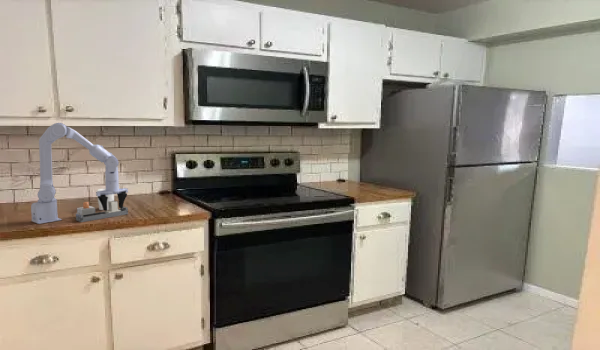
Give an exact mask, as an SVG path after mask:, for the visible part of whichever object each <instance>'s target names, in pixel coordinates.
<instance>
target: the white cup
mask: <svg viewBox="0 0 600 350" xmlns="http://www.w3.org/2000/svg"><path fill="white" fill-rule="evenodd" d="M104 190H106V188H98V189H97V190H96V192H98V191H104ZM105 196H106V197H108V199H107V211H108V202H109V201H115V194H110V195H105ZM97 204H98V209H99V210H100V211H104V210H103V207H102V204H101V202H100V200H99V199H98V198H97Z"/></svg>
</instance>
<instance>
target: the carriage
mask: <svg viewBox="0 0 600 350" xmlns="http://www.w3.org/2000/svg"><path fill="white" fill-rule="evenodd" d="M119 209H120V208H119V201H117V200H114V201H109V202H108V210H107V211H105V213H111V212H117V211H121V210H119Z"/></svg>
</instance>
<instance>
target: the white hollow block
mask: <svg viewBox="0 0 600 350" xmlns="http://www.w3.org/2000/svg"><path fill="white" fill-rule="evenodd" d="M76 211H77V212H76V213H79V214H82V215H86V214H92V213H96V207H94V206H92V205H89V208H86V209H83V206H80V207H77V208H76Z"/></svg>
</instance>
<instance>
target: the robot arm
mask: <svg viewBox="0 0 600 350" xmlns="http://www.w3.org/2000/svg"><path fill="white" fill-rule="evenodd" d="M65 136H66V137H65ZM63 137H65V138H66V139H70V140H71V139H73V140H74V141H75V142H77V143H79V145H81V146H82V147H84V148H86V149H87V150H88V151H89V155H90V156H92V157H94V159H96V160H97V161H99V162H101V163H104V165H105V172H104V176H105V177H104V180H105V189H106V190H104V191H98V192H97V191H96V192H95V195H96V197H97V200H98V199H99V200H100V202H101V204H102V207H103V210H102V211H103V212H104V211H108V210H107V199H108V197H106V196H105V195H110V194H114V195H117V199H118V201H117V202H118V209H120V208H123V206H124V203H125V200H126V198H127V196H128V193H129V188H126V187H124V188H120V185H119V184H120V183H119V182H120V181H119V179H120V178H119V177H120V176H119V163H120V161H119V159H118V158H117V157H116V156H115V155H114V154H113V153H112V152H109V151H108V150H107V149H106V148H104V146H103V145H102V144H94V143H92V142H91V141H89V139H87V138H86V137H84V136H83V135H82V134H80V133H79V132H78V131H76V130H75V129H73V128H71V127H70V126H67V125H66V124H64V123H62V122H55V123H53V124H51V125H49V126H48V127H47V128H46V130H45V131H44V133H43V134H42V135H41V136H40V137H39V140H38V148H39V149H38V150H39V153H38V154H39V179H40V180H39V190H38V191H37V198H38V199H37V202H33V203H31V205H30V206H31V207H30V212H31V220H30V221H31V222H33V223H36V224H38V225H40V224H46V223H52V222H58V221H62V218H59V217H58V215H59V214H58V198H56V197H55V196H56V193H57V192H56V191H57V190H56V188H55V186H54V181H53V155H52V154H53V150H52V147H53V146H52V144H53V143H54V142H56V141H57V140H58V139H61V138H63Z"/></svg>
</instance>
